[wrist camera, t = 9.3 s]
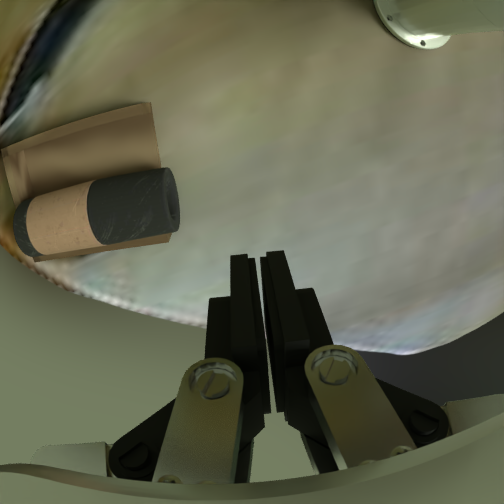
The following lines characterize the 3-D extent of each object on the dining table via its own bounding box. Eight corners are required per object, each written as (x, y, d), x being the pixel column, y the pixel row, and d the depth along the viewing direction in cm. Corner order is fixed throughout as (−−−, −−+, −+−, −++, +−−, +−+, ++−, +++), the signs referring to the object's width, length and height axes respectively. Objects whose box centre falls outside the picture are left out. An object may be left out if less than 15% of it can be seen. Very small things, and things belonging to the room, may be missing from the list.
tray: (17, 143, 31) (0, 149, 28) (150, 102, 32) (142, 103, 28) (47, 248, 39) (34, 262, 35) (173, 228, 39) (168, 242, 36)
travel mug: (169, 237, 30) (17, 262, 30) (183, 231, 37) (49, 253, 37) (159, 159, 29) (9, 199, 28) (175, 168, 36) (42, 199, 36)
